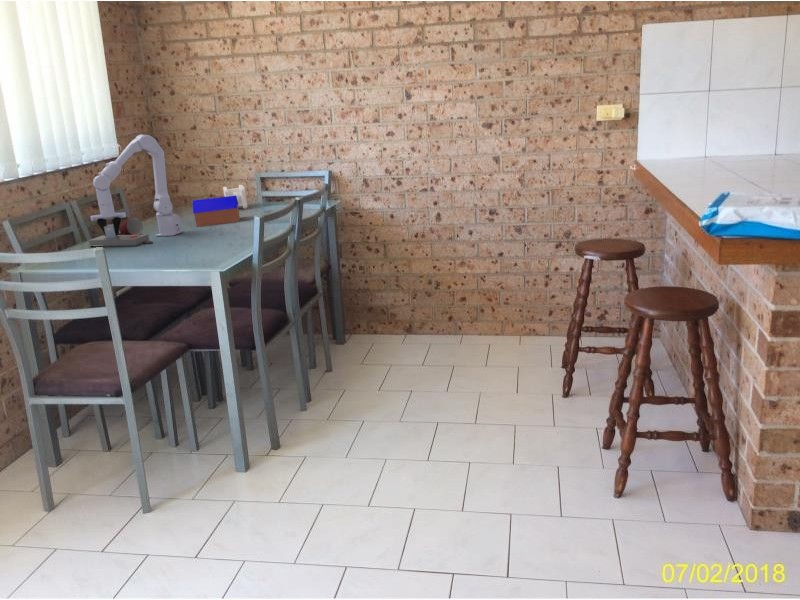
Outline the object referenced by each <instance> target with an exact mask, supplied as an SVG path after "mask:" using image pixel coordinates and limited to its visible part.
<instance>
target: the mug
mask: <svg viewBox="0 0 800 600" xmlns="http://www.w3.org/2000/svg"><path fill="white" fill-rule="evenodd" d="M143 229H144V226H143V223H142V221H141V220H140V219H139V218H137V217H130V218H127V219H125V220H124V221H122V222H120V226H119V235H141V233H142V232H143Z"/></svg>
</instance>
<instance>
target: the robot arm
mask: <svg viewBox="0 0 800 600" xmlns="http://www.w3.org/2000/svg"><path fill="white" fill-rule="evenodd" d="M142 151H144V152H146V153H147V154H148V155H150V156H151V159H152V166H153V167H152V169H153V178H154V189H155V195H154V201H153V205H152V206H153V210H154V211H156V213H155V216H156V222H157V226H158V232H159V233H157V234H155V237H164V236H167V237H168V236H169V237H170V236H172V237H173V236H175V235H178V234H181V233H183V232H184V230H183V229H182V228H183V227H182V223H181V218H180V216H179V214H175V213H174V212H173V210H174V209H173V208H174V206H173V205H174V204H172V201H171V197H170V195H169V191H168V181H167V171H166V170H167V169H166V159H165V151H164V150H163V148H162V147H161V146H160V144H159V142H158V141H157V139H156V138H154V137H153V136H151V135H149V134H141V133H140V134H139V135H137V136H135V138H134V139H132V140H131V141H130V142H129V143H128V144H127V146H126V147H125V148H124V149H123V150H122V152H121V153H120V155H118V157H117V158H116V159H115V160H114V161H110V162H107V163H105V167H104V168H103V169H102V170H101V171H99V172H98V175H96V176H95V177H94V178H93V180H92V186H93V187H94V188H95V193H96V200H97V205H98V207H99V213H100V214H95V215H90V221H91V222H94V221H96V224H97V225H98V226H99V227H100V229H101V231H102V232H103V234H104V236H106V235H105V230H104V226H106V225H108V224H107V220H111V223H112V224H113V225H114V228H115V233H116V235H119V233H120V230H119V227H120V224H121V223H122V222H121V221H122V219H123V218H126V217H127V212H126V211H125V212H124V211H122V212H115V207H114V202H113V199H112V198H113V197H112V193H111V189H110V186H111V183H112V182H113V181H114V180H115V179H116V178H117V177H118V176H119V174H120V173H121V172H122V166H123V165H124V164H125V163H126V162H127V161H128V160H129V159H130V158H131V157H132V156H133V155H134V154H135V153H139V152H142Z"/></svg>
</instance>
